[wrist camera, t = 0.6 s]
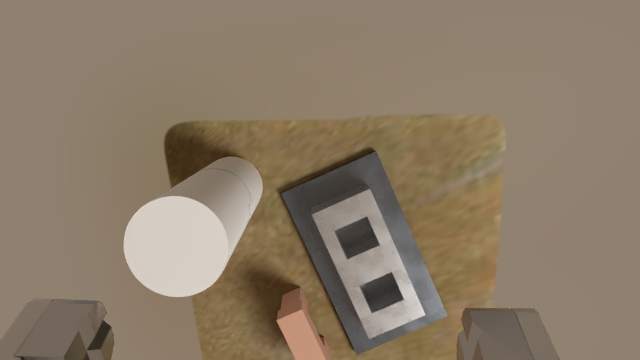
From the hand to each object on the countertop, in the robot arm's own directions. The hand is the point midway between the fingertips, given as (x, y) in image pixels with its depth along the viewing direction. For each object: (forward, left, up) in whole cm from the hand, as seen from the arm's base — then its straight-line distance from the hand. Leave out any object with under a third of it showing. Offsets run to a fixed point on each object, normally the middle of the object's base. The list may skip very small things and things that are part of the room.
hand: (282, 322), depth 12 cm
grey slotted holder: (-15, -1, -48) cm, 50 cm away
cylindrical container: (-1, +10, -48) cm, 49 cm away
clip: (-20, +9, -48) cm, 53 cm away
